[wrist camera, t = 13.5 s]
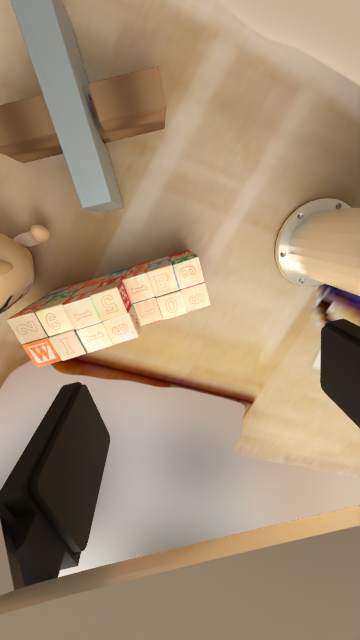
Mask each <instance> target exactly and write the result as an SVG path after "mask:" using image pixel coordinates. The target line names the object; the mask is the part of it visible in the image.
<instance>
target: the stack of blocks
mask: <svg viewBox="0 0 360 640" xmlns="http://www.w3.org/2000/svg"><path fill="white" fill-rule="evenodd" d="M207 306H210V301H209V297H208V293H207V289H206V285H205V282H204V278H203V274H202V270H201V266H200V262H199V258H198V256H197V255H195V254H193V253H192V252H191V251H189V250H188V251H185V252H182V253H179V254H175V255H172V256H167V257H163V258H160V259H157V260H153V261H151V262H146V263H143V264H140V265H136V266H133V267H131V268H128V269H125V270H121V271H118V272H114V273H112V274H108V275H105V276H101V277H98V278H95V279H90V280H86V281H83V282H79V283H76V284H72V285H68V286H65V287H61V288H58V289H55V290H53V291H52V292H50V293H48V294H47V295H46V296H44V297H43V298H41V299H40V300H38V301H36V302H34V303H33V304H31V305H29V306H27V307H26V308H24V309H23V310H22V311H20V312H19V313H17V314H15V315H14V316H12V317H10V318H9V319H8V320H7V322H8V323H9V325H10V327H11V328H12V330H13V331H14V333H15V335H16V336H17V338H18V340H19V341H20V343H21V344H23V347H24V349H25V350H26V352H27V354H28V355H29V357H30V358H31V360H32V361H33V363H34V364H35V366H36V367H41V366H44V365H48V364H51V363H54V362H58V361H61V360H67V359H70V358H73V357H76V356H80V355H83V354H85V353H87V352H89V353H91V352H94V351H97V350H100V349H103V348H106V347H109V346H112V345H113V344H118V343H121V342H124V341H127V340H131V339H134V338H137V337H139V332H140V328H141V326H143V325H146V324H150V323H153V322H157V321H160V320H166V319H169V318H172V317H176V316H179V315H183V314H186V313H187V312H190V311H193V310H197V309H200V308H203V307H207Z"/></svg>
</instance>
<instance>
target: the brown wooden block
mask: <svg viewBox="0 0 360 640" xmlns="http://www.w3.org/2000/svg"><path fill="white" fill-rule="evenodd" d="M89 87H90V90H91V94H92V97H93V100H90V102H91V105H92V109H93V112H94V115H95V119H96V122H97V126H98V129H99V133H100V136H101V140H102V142H103V143H107V142H111V141H115V140H119V139H123V138H127V137H131V136H135V135H139V134H144V133H148V132H152V131H156V130H160V129H164V125H165V109H166V105H165V100H164V94H163V89H162V84H161V79H160V74H159V69H158V66H157V67H153V68H149V69H145V70H141V71H137V72H133V73H129V74H125V75H121V76H117V77H113V78H109V79H105V80H101V81H97V82H93V83H89ZM0 153H2V154H4V155H6V156H9V157H11V158H13V159H15V160H17V161H20V162H22V163H26V162H30V161H34V160H38V159H42V158H46V157H50V156H54V155H58V154H62V153H63V151H62V148H61V145H60V142H59V139H58V136H57V133H56V130H55V127H54V125H53V122H52V119H51V116H50V113H49V110H48V107H47V104H46V102H45V99H44V96H43V95H40V96H36V97H32V98H28V99H24V100H20V101H16V102H12V103H8V104H4V105H0Z"/></svg>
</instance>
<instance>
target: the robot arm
mask: <svg viewBox="0 0 360 640" xmlns="http://www.w3.org/2000/svg"><path fill="white" fill-rule="evenodd" d="M297 216H298V217H297ZM280 253H282V254H281V255H280ZM275 258H276V263H277V266H278V268H279V270H280V272H281V273H282V275H283V276H284V277H285V278H286V279H287V280H289V281H290V282H292V283H294V284H297V285H299V286H305V287H315V286H319V285H323V284H328V285H330V286H333V287H336V288H339V289H342V290H344V291H347V292H350V293H353V294H356V295H358V296H360V208H351V207H350V206H349V205H348V204H346V203H345V202H343V201H341V200H338V199H332V198H324V199H318V200H314V201H310V202H308V203H306V204H304V205H302V206H301V207H299V208H298V209H297V210H295V211H294V212H293V213H292V214H291V215H290V216H289V217H288V219H287V220H286V221H285V223H284V224H283V226H282V228H281V230H280V232H279V234H278V237H277V240H276V246H275ZM320 383H321V387H322V389H323V391H324V392H325V393H326V394H327V395H328V396H329V397H330V398H331V399H332V400H333V401H334V402H335V403H336V404H337V405H338V406H339V407H340V408H341V409H342V411H343V412H344V413H345V414H346V415H347V416H348V417H349V418H350V419H351V420H352V421H353V422H354V423H355V424H356V425H357V426H358V427H359V428H360V327H359V326H357V325H355V324H353V323H351V322H349V321H348V320H345V319H339V320H335V321H331V322H327V323H326V324H325V327H323V328H322V330H321V379H320ZM109 444H110V436H109V433H108V431H107V428H106V426H105V424H104V422H103V420H102V418H101V416H100V413H99V411H98V409H97V407H96V405H95V403H94V401H93V399H92V397H91V394H90V393H89V390H88V388H87V386H86V385H82V384H81V383H80V382H76V383H72V384H69V385H64V386H63V387H62V388H61V389H60V391H59V393H58V395H57V396H56V398H55V400H54V401H53V403H52V405H51V406H50V408H49V410H48V411H47V413H46V415H45V416H44V418H43V420H42V421H41V423H40V425H39V426H38V428H37V430H36V431H35V433H34V435H33V436H32V438H31V440H30V442H29V443H28V445H27V447H26V448H25V450H24V452H23V453H22V455H21V457H20V458H19V460H18V462H17V464H16V465H15V467H14V469H13V470H12V472H11V474H10V475H9V477H8V479H7V480H6V482H5V484H4V485H3V487H2V489H1V490H0V640H360V505H359V506H354V507H350V508H346V509H341V510H337V511H332V512H328V513H324V514H319V515H315V516H311V517H307V518H302V519H298V520H294V521H290V522H285V523H281V524H276V525H272V526H268V527H264V528H259V529H255V530H251V531H247V532H242V533H238V534H234V535H230V536H225V537H222V538H217V539H213V540H209V541H204V542H200V543H196V544H192V545H188V546H183V547H179V548H175V549H171V550H167V551H163V552H158V553H154V554H150V555H146V556H142V557H138V558H134V559H129V560H125V561H121V562H117V563H113V564H109V565H105V566H100V567H97V568H93V569H89V570H85V571H81V572H78V573H74V574H70V575H66V576H62V577H59V578H58V574H59V571H60V570H62V569H66V568H70V567H75V566H78V563H79V559H80V554H81V551H83V550H84V549H85V548H86V546H87V543H88V539H89V534H90V530H91V525H92V521H93V516H94V512H95V507H96V503H97V498H98V493H99V489H100V485H101V480H102V476H103V471H104V467H105V462H106V458H107V453H108V449H109Z"/></svg>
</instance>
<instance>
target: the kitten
mask: <svg viewBox="0 0 360 640" xmlns="http://www.w3.org/2000/svg"><path fill="white" fill-rule="evenodd" d="M48 239H49V231H48V230H47V229H46V228H45V227H44V226H42V225H33V226H32V227H31V228H30V231H28V232H25V233H21V234H19V235H17V236H16V237H15V238H14V239H13V238H9V237H7V236H5V235H4V234H2V233H0V314H1V313H2V312H4V311H6V310H7V309H9V308H10V307H11V306H12V305H13V304H15V303H16V302H18V301H19V300H20V299H21V298H23V297H24V296H25V295H26V294H27V293H28V291H29V290H30V288H31V287H32V285H33V282H34V265H33V259H32V255H31V253H30V251H29V249H28V248H27V247H30V246H35V245H37V244H39V243H43V242H46V241H47V240H48Z"/></svg>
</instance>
